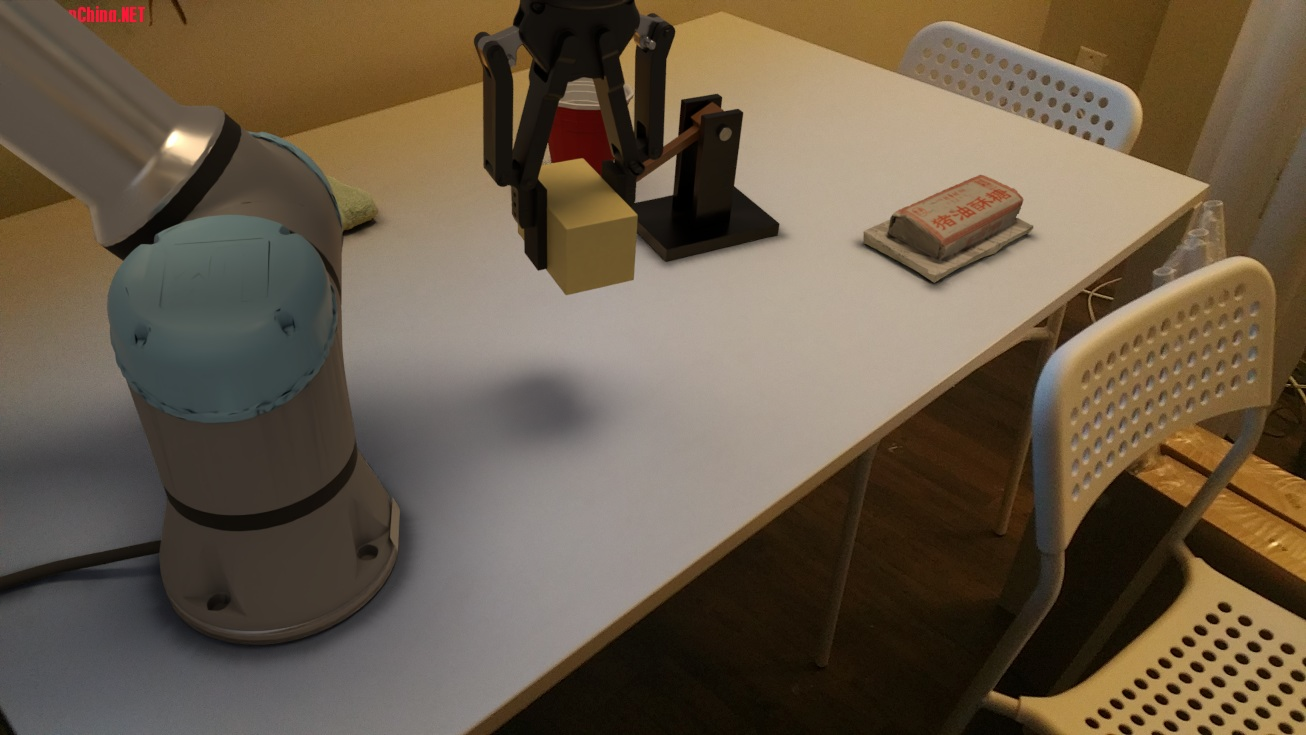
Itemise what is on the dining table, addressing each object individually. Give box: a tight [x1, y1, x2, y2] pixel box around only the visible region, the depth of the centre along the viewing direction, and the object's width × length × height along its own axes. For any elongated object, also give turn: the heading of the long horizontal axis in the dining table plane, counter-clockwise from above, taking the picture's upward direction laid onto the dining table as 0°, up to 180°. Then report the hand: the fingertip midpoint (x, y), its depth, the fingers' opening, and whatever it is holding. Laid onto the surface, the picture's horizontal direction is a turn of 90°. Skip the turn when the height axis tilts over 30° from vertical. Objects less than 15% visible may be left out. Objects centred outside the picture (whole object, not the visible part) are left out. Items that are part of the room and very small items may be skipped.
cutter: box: [631, 93, 781, 262], centre depth 103 cm, size 14×10×14 cm
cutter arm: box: [636, 102, 725, 184], centre depth 99 cm, size 16×3×3 cm, turn 119°
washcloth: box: [325, 174, 379, 232], centre depth 103 cm, size 13×18×3 cm
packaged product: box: [862, 174, 1034, 284], centre depth 107 cm, size 18×5×10 cm
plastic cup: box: [547, 77, 635, 176], centre depth 109 cm, size 11×11×12 cm
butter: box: [517, 158, 638, 296], centre depth 73 cm, size 6×10×6 cm, turn 27°
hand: (574, 252), depth 75 cm, fingers closed on butter, 5 cm apart
